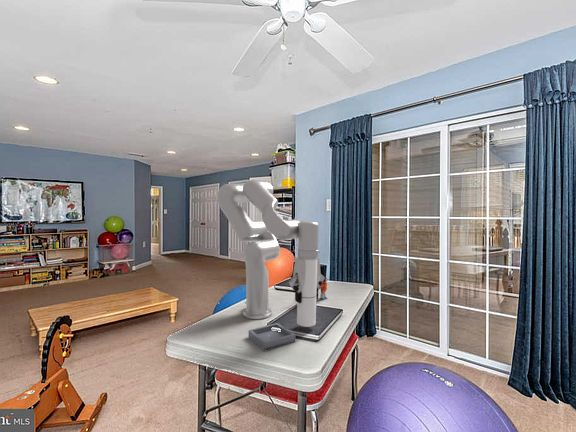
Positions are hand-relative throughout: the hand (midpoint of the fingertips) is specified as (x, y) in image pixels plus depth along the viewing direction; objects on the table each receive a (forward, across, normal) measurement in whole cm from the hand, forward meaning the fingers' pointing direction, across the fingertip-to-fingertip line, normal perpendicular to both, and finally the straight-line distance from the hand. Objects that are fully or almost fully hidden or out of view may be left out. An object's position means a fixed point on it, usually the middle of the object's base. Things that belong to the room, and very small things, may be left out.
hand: (306, 300), depth 113 cm
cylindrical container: (+9, 0, 0) cm, 9 cm away
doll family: (+12, -21, -23) cm, 34 cm away
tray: (+11, +16, +1) cm, 19 cm away
